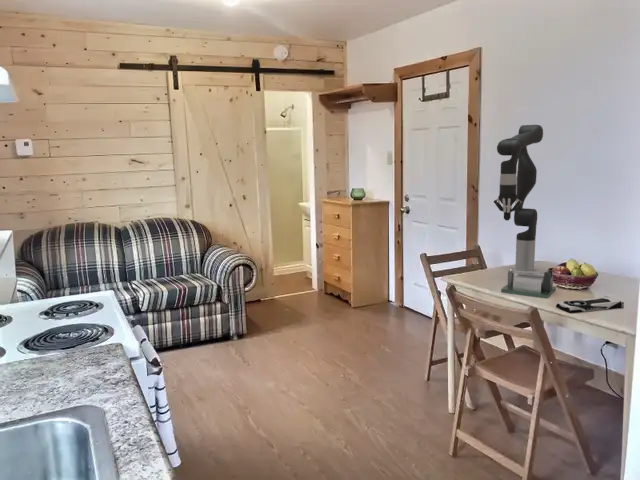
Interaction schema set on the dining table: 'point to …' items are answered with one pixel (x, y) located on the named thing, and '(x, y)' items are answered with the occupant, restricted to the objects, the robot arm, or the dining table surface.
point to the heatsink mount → (530, 284)
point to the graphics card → (590, 305)
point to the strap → (528, 271)
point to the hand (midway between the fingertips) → (507, 220)
